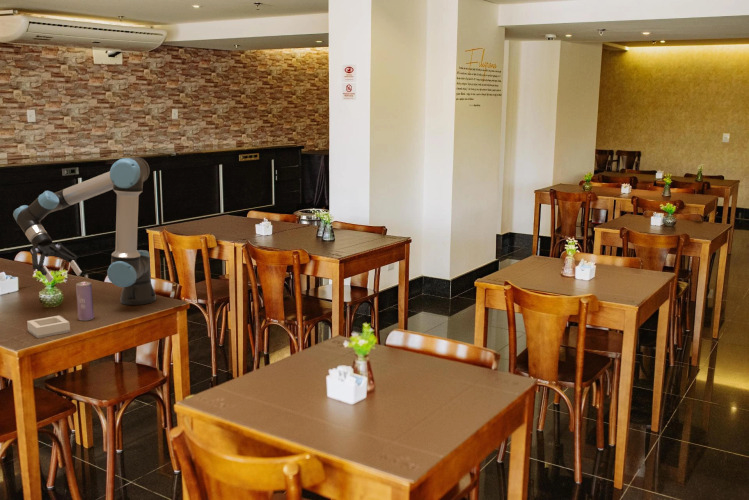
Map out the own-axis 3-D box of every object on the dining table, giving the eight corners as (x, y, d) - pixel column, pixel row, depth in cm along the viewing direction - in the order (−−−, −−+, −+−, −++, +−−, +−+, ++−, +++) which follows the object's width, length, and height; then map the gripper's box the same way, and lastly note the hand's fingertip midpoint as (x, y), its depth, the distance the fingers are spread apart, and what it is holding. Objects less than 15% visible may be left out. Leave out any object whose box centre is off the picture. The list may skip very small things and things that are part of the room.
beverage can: (96, 317, 303) (94, 281, 300) (89, 321, 297) (87, 285, 294) (82, 316, 304) (80, 281, 301) (75, 320, 298) (72, 285, 295)
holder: (60, 325, 292) (59, 315, 291) (70, 332, 283) (69, 322, 282) (28, 330, 284) (27, 321, 284) (37, 338, 275) (36, 327, 275)
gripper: (61, 239, 319) (87, 276, 315) (8, 248, 298) (35, 288, 293) (68, 228, 316) (94, 265, 311) (15, 236, 294) (42, 277, 290)
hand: (65, 277), depth 302 cm, fingers open, 13 cm apart
